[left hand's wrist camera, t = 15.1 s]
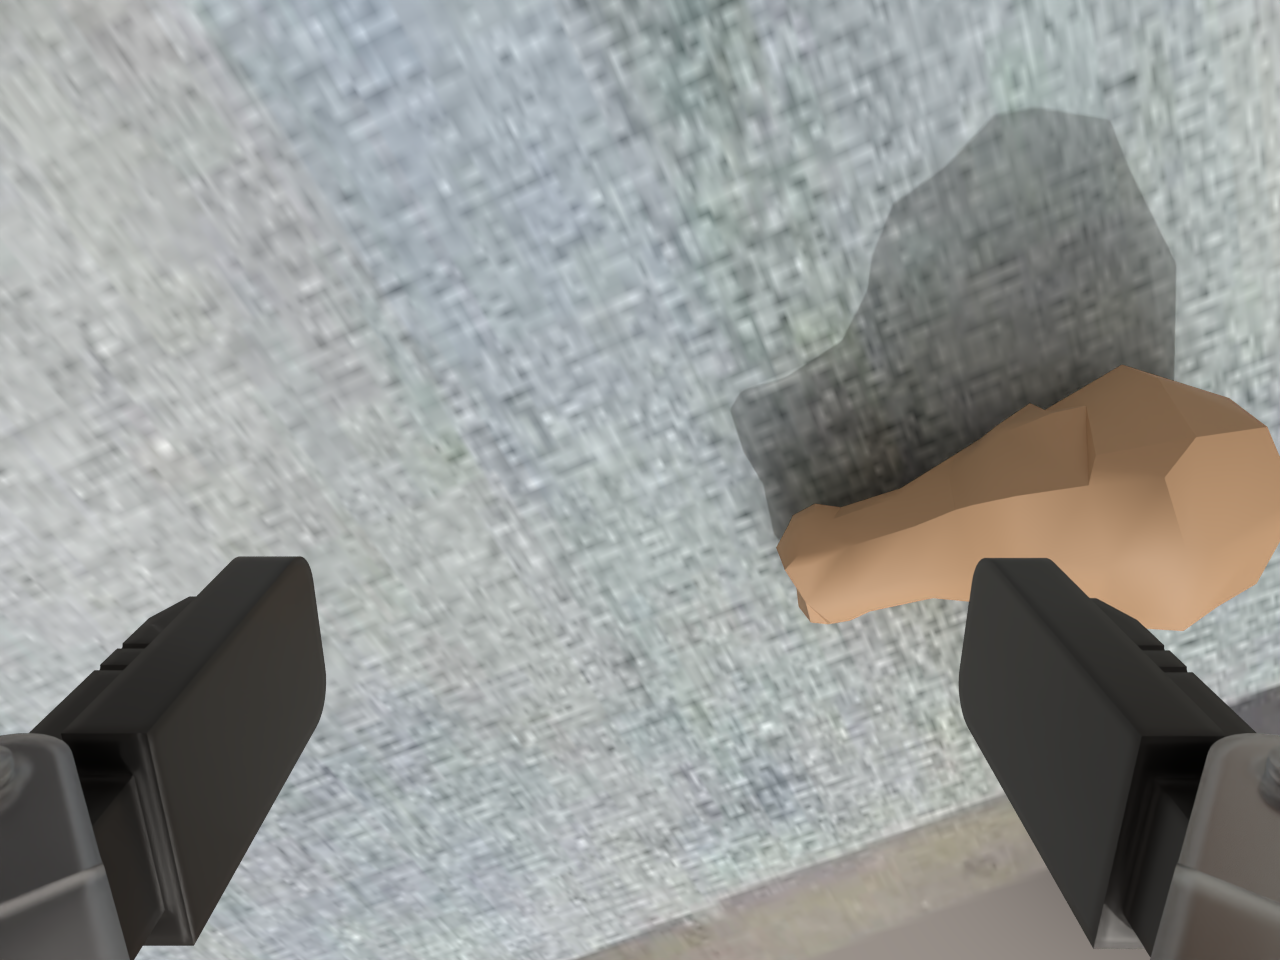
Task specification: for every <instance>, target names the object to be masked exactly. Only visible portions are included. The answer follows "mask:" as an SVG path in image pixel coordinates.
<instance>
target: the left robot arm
mask: <svg viewBox="0 0 1280 960" xmlns="http://www.w3.org/2000/svg"><path fill="white" fill-rule="evenodd" d="M325 692H326V671H325V663H324V656H323V648H322V641H321V634H320V627H319V619H318V612H317V605H316V597H315V590H314V583H313V577H312V572H311V569H310V566H309V564H308V562H307V561H306V560H305V559H304V558H303V557H236V558H235V559H233V560H232V561H231V562H230V563H229V564H228V565H227V566H226V567H225V568H224V569H223V570H222V571H221V572H220V573H219V574H218V575H217V576H216V577H215V578H214V579H213V580H212V581H211V582H210V583H209V584H208V585H207V586H206V587H205V588H204V589H203V590H202V591H201V592H200V593H199V594H198V595H197V596H196V597H188V598H186V599H184V600H182V601H180V602H178V603H177V604H175V605H173V606H171V607H169V608H167V609H165V610H163V611H162V612H160V613H158V614H156V615H154V616H152V617H150V618H149V619H148V620H147V621H146V622H145V623H144V624H142V625H141V626H140V627H139V628H138V629H137V630H136V631H135V632H134V633H133V634H132V635H131V636H130V637H129V638H128V639H127V640H126V641H125V642H124V643H123V647H122V649H116V650H115V651H114V652H113V653H112V654H111V655H110V656H109V657H108V658H107V659H106V660H105V661H104V662H103V663H102V664H101V665H100V670H94V671H93V672H92V673H91V674H90V675H89V676H88V677H87V678H86V679H85V680H84V681H83V682H82V683H81V684H80V685H79V686H78V687H77V688H76V689H74V690H73V691H72V692H71V693H70V694H69V695H68V696H67V697H66V698H65V699H64V700H63V701H62V702H61V703H60V704H59V705H58V706H57V707H56V708H55V709H54V710H52V711H51V712H50V713H49V714H48V715H47V716H46V717H45V718H44V719H43V720H42V721H41V722H40V723H39V724H38V725H37V726H36V727H35V728H34V729H33V730H32V731H31V732H29V733H18V734H9V735H2V736H0V960H134V959H135V957H136V956H137V954H138V952H139V951H140V949H141V948H142V946H194V944H195V943H196V941H197V939H198V937H199V935H200V934H201V932H202V930H203V928H204V926H205V925H206V923H207V921H208V919H209V918H210V916H211V914H212V912H213V910H214V909H215V907H216V905H217V903H218V901H219V900H220V898H221V896H222V894H223V893H224V891H225V889H226V887H227V885H228V884H229V882H230V880H231V878H232V876H233V875H234V873H235V871H236V869H237V868H238V866H239V864H240V862H241V860H242V859H243V857H244V855H245V853H246V851H247V850H248V848H249V846H250V844H251V843H252V841H253V839H254V837H255V835H256V834H257V832H258V830H259V828H260V826H261V825H262V823H263V821H264V819H265V818H266V816H267V814H268V812H269V810H270V809H271V807H272V805H273V803H274V801H275V800H276V798H277V796H278V794H279V793H280V791H281V789H282V787H283V785H284V784H285V782H286V780H287V778H288V777H289V775H290V773H291V771H292V769H293V768H294V766H295V764H296V762H297V760H298V759H299V757H300V755H301V753H302V752H303V750H304V748H305V746H306V744H307V743H308V741H309V739H310V737H311V735H312V734H313V732H314V730H315V728H316V727H317V724H318V722H319V720H320V717H321V714H322V711H323V706H324V701H325ZM959 696H960V703H961V708H962V713H963V716H964V719H965V722H966V724H967V726H968V728H969V730H970V732H971V734H972V735H973V737H974V739H975V741H976V742H977V744H978V746H979V748H980V749H981V751H982V753H983V755H984V757H985V758H986V760H987V762H988V764H989V765H990V767H991V769H992V771H993V772H994V774H995V776H996V778H997V779H998V781H999V783H1000V785H1001V787H1002V788H1003V790H1004V792H1005V794H1006V795H1007V797H1008V799H1009V801H1010V802H1011V804H1012V806H1013V808H1014V809H1015V811H1016V813H1017V815H1018V817H1019V818H1020V820H1021V822H1022V824H1023V825H1024V827H1025V829H1026V831H1027V832H1028V834H1029V836H1030V838H1031V839H1032V841H1033V843H1034V845H1035V846H1036V848H1037V850H1038V852H1039V854H1040V855H1041V857H1042V859H1043V861H1044V862H1045V864H1046V866H1047V868H1048V869H1049V871H1050V873H1051V875H1052V876H1053V878H1054V880H1055V882H1056V884H1057V885H1058V887H1059V889H1060V891H1061V892H1062V894H1063V896H1064V898H1065V899H1066V901H1067V903H1068V905H1069V906H1070V908H1071V910H1072V912H1073V913H1074V915H1075V917H1076V919H1077V920H1078V922H1079V924H1080V926H1081V927H1082V929H1083V931H1084V933H1085V935H1086V936H1087V938H1088V940H1089V942H1090V943H1091V945H1092V947H1093V949H1146V951H1147V953H1148V954H1149V956H1150V957H1151V958H1150V960H1280V736H1278V735H1271V734H1262V733H1256V732H1255V731H1254V730H1253V729H1252V728H1251V727H1250V726H1249V725H1248V724H1247V723H1246V722H1244V721H1243V720H1242V719H1241V718H1240V717H1239V716H1238V715H1237V714H1236V713H1235V712H1234V711H1233V710H1232V709H1231V708H1230V707H1229V706H1228V705H1227V704H1225V703H1224V702H1223V701H1222V700H1221V699H1220V698H1219V697H1218V696H1217V695H1216V694H1215V693H1214V692H1213V691H1212V690H1211V689H1210V688H1209V687H1208V686H1206V685H1205V684H1204V683H1203V682H1202V681H1201V680H1200V679H1199V678H1198V677H1197V676H1196V675H1195V674H1194V673H1193V672H1187V667H1186V666H1185V665H1184V664H1183V663H1182V662H1181V661H1180V660H1179V659H1178V658H1177V657H1176V656H1175V655H1174V654H1173V653H1172V652H1171V651H1165V650H1164V645H1163V644H1162V643H1161V642H1160V641H1159V640H1158V639H1157V638H1156V637H1155V636H1154V635H1153V634H1152V633H1150V632H1149V631H1148V630H1147V629H1146V628H1145V627H1144V626H1143V625H1142V624H1141V623H1140V622H1139V621H1138V620H1136V619H1135V618H1133V617H1131V616H1129V615H1127V614H1125V613H1123V612H1121V611H1120V610H1118V609H1116V608H1114V607H1112V606H1110V605H1108V604H1106V603H1105V602H1103V601H1101V600H1099V599H1097V598H1089V597H1088V596H1087V595H1086V594H1085V593H1084V592H1083V591H1082V590H1081V589H1080V588H1079V587H1078V586H1077V585H1076V584H1075V583H1074V582H1073V581H1072V580H1071V579H1070V578H1069V577H1068V576H1067V575H1066V574H1065V573H1064V572H1063V571H1062V570H1061V569H1060V568H1059V567H1058V566H1057V565H1056V564H1055V563H1054V562H1053V561H1052V560H1051V559H1048V558H983V559H981V560H980V561H979V562H978V564H977V565H976V568H975V570H974V574H973V579H972V585H971V592H970V599H969V606H968V613H967V620H966V628H965V635H964V642H963V649H962V656H961V663H960V671H959Z"/></svg>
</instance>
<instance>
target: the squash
mask: <svg viewBox="0 0 1280 960" xmlns="http://www.w3.org/2000/svg"><path fill="white" fill-rule="evenodd" d="M1279 542H1280V456H1279V454H1278V452H1277V449H1276V447H1275V444H1274V442H1273V440H1272V437H1271V435H1270V432H1269V430H1268V428H1267V426H1265V425H1264V424H1263V423H1261V422H1260V421H1259V420H1257V419H1256V418H1255V417H1253V416H1252V415H1251V414H1249V413H1248V412H1247V411H1245V410H1244V409H1243V408H1241V407H1240V406H1239V405H1238V404H1236V403H1235V402H1234V401H1232V400H1231V399H1230V398H1227V397H1224V396H1221V395H1217V394H1214V393H1211V392H1208V391H1205V390H1201V389H1198V388H1195V387H1192V386H1189V385H1186V384H1182V383H1179V382H1176V381H1173V380H1170V379H1166V378H1163V377H1160V376H1157V375H1154V374H1150V373H1147V372H1144V371H1141V370H1138V369H1134V368H1131V367H1128V366H1125V365H1120V366H1119V367H1117V368H1115V369H1114V370H1112V371H1110V372H1109V373H1107V374H1105V375H1103V376H1102V377H1100V378H1098V379H1097V380H1095V381H1093V382H1092V383H1090V384H1088V385H1087V386H1085V387H1083V388H1081V389H1080V390H1078V391H1076V392H1075V393H1073V394H1071V395H1070V396H1068V397H1066V398H1064V399H1063V400H1061V401H1059V402H1058V403H1056V404H1054V405H1053V406H1051V407H1049V408H1047V409H1046V410H1044V409H1042V408H1039V407H1037V406H1035V405H1033V404H1031V403H1030V404H1028V405H1027V406H1025V407H1024V408H1022V409H1021V410H1019V411H1018V412H1016V413H1015V414H1013V415H1012V416H1010V417H1009V418H1007V419H1006V420H1004V421H1003V422H1002V423H1000V424H999V425H997V426H996V427H994V428H993V429H992V430H991V431H989V432H988V433H987V434H986V435H984V436H983V437H982V438H981V439H979V440H978V441H976V442H974V443H973V444H971V445H970V446H968V447H966V448H965V449H963V450H962V451H960V452H958V453H957V454H955V455H954V456H952V457H950V458H949V459H947V460H946V461H944V462H942V463H941V464H939V465H937V466H936V467H934V468H933V469H931V470H929V471H928V472H926V473H925V474H923V475H921V476H920V477H918V478H916V479H915V480H913V481H912V482H910V483H908V484H907V485H905V486H904V487H902V488H900V489H897V490H893V491H890V492H887V493H884V494H881V495H878V496H875V497H872V498H869V499H865V500H862V501H859V502H856V503H853V504H850V505H847V506H844V507H835V506H828V505H821V504H813V505H811V506H810V507H808V508H806V509H804V510H802V511H800V512H798V513H796V514H794V515H793V516H792V518H791V521H790V523H789V525H788V527H787V529H786V531H785V532H784V534H783V536H782V538H781V540H780V542H779V544H778V546H777V547H776V548H777V551H778V553H779V556H780V558H781V561H782V563H783V566H784V569H785V571H786V572H787V574H788V575H789V577H790V579H791V580H792V582H793V583H794V585H795V586H796V588H797V596H798V604H799V608H800V609H801V610H802V611H803V613H804V614H805V615H806V617H807V618H808V619H809V621H810V622H812V623H822V624H832V623H838V622H844V621H850V620H852V619H855V618H857V617H859V616H861V615H863V614H865V613H867V612H869V611H874V610H878V609H883V608H888V607H893V606H897V605H902V604H907V603H911V602H916V601H921V600H925V599H930V598H939V599H949V600H959V601H969V599H970V592H971V585H972V579H973V574H974V570H975V568H976V565H977V564H978V562H979V561H980V560H981V559H983V558H1048V559H1051V560H1052V561H1053V562H1054V563H1055V564H1056V565H1057V566H1058V567H1059V568H1060V569H1061V570H1062V571H1063V572H1064V573H1065V574H1066V575H1067V576H1068V577H1069V578H1070V579H1071V580H1072V581H1073V582H1074V583H1075V584H1076V585H1077V586H1078V587H1079V588H1080V589H1081V590H1082V591H1083V592H1084V593H1085V594H1086V595H1087V596H1088V597H1089V598H1097V599H1099V600H1101V601H1103V602H1105V603H1106V604H1108V605H1110V606H1112V607H1114V608H1116V609H1118V610H1120V611H1121V612H1123V613H1125V614H1127V615H1129V616H1131V617H1133V618H1135V619H1136V620H1138V621H1139V622H1140V623H1141V624H1142V625H1143V626H1144V627H1145V628H1146V629H1162V630H1178V631H1184V630H1185V629H1187V628H1188V627H1190V626H1191V625H1192V624H1194V623H1195V622H1197V621H1198V620H1199V619H1201V618H1202V617H1204V616H1205V615H1206V614H1208V613H1209V612H1211V611H1212V610H1213V609H1215V608H1216V607H1218V606H1219V605H1221V604H1223V603H1224V602H1226V601H1228V600H1229V599H1231V598H1233V597H1235V596H1236V595H1238V594H1240V593H1241V592H1243V591H1245V590H1246V589H1248V588H1250V587H1251V586H1253V585H1255V584H1257V582H1258V580H1259V578H1260V576H1261V574H1262V573H1263V571H1264V569H1265V567H1266V565H1267V564H1268V562H1269V560H1270V558H1271V556H1272V555H1273V553H1274V551H1275V549H1276V547H1277V546H1278V544H1279Z"/></svg>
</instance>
